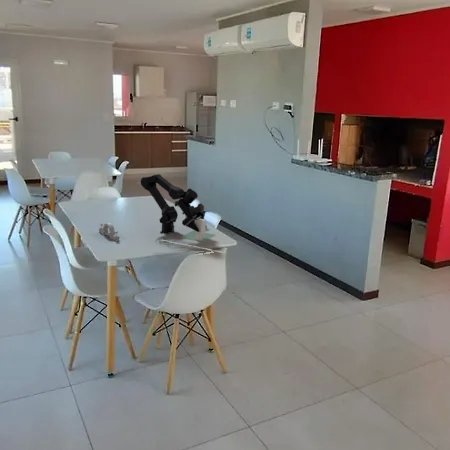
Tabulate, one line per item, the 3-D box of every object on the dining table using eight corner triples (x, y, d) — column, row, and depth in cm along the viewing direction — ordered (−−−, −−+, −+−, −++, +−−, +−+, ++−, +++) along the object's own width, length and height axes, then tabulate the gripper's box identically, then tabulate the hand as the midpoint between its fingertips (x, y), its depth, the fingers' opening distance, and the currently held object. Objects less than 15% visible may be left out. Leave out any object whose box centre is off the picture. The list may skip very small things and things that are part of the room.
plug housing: (194, 239, 262) (195, 220, 259) (199, 237, 267) (200, 218, 264) (200, 240, 261) (201, 221, 258) (205, 238, 266) (206, 219, 263)
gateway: (99, 233, 268) (98, 219, 265) (102, 232, 269) (102, 219, 267) (115, 242, 253) (115, 228, 251) (119, 241, 255) (119, 227, 253)
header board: (179, 238, 265) (179, 233, 264) (193, 232, 280) (193, 227, 279) (203, 243, 259) (203, 238, 258) (215, 236, 274) (216, 231, 273)
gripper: (187, 202, 251) (205, 225, 250) (203, 196, 268) (219, 218, 267) (174, 214, 256) (191, 236, 255) (190, 208, 273) (206, 229, 272)
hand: (202, 229), depth 262 cm, fingers open, 9 cm apart
